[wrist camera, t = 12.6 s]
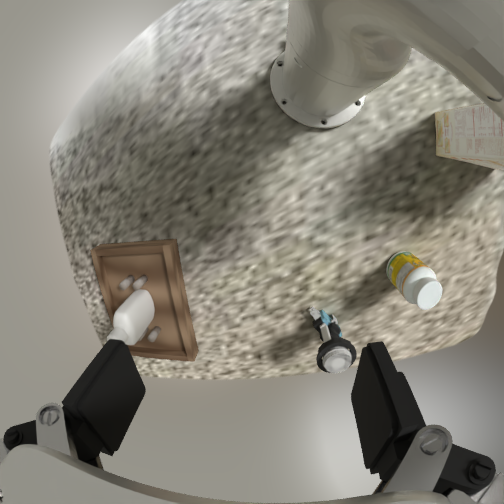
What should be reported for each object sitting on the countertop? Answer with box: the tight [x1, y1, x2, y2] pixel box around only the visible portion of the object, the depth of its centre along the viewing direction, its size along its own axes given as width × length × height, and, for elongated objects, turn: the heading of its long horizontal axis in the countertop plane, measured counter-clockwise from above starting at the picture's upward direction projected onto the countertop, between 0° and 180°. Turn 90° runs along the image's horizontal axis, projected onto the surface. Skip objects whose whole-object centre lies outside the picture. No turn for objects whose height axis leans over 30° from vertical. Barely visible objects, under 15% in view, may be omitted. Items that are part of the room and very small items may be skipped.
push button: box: [309, 307, 356, 373], centre depth 36 cm, size 7×5×10 cm
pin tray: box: [90, 239, 198, 361], centre depth 40 cm, size 20×14×4 cm
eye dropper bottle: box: [107, 289, 155, 345], centre depth 35 cm, size 4×6×12 cm
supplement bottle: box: [386, 251, 442, 310], centre depth 32 cm, size 5×5×10 cm
